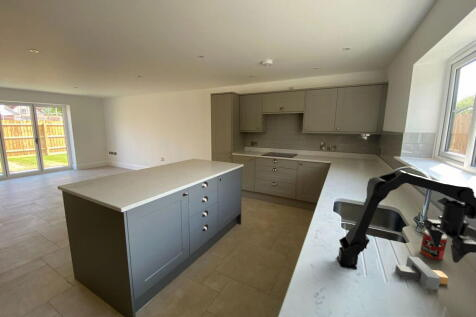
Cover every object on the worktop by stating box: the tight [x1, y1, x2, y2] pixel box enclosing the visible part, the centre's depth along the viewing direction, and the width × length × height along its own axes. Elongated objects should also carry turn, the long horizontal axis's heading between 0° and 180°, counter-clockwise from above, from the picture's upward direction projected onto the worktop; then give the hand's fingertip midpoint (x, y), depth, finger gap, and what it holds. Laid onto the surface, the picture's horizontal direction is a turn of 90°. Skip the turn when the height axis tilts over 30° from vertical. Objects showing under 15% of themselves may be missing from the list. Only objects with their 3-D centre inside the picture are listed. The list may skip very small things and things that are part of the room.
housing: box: [405, 255, 441, 291], centre depth 80 cm, size 4×12×5 cm, turn 168°
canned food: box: [420, 229, 448, 261], centre depth 93 cm, size 8×8×11 cm
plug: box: [394, 264, 449, 285], centre depth 80 cm, size 16×4×3 cm, turn 79°
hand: (445, 254), depth 77 cm, fingers open, 9 cm apart
